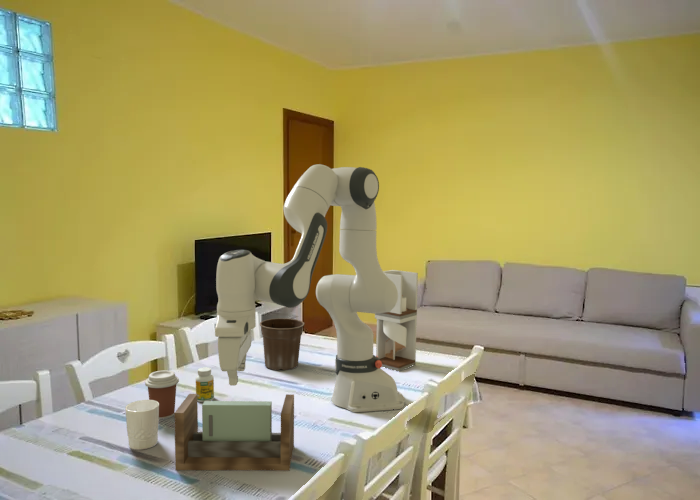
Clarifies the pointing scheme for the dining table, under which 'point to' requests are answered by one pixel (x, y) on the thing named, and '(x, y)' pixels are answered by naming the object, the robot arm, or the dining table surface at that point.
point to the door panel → (237, 420)
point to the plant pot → (281, 342)
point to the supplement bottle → (204, 385)
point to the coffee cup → (163, 391)
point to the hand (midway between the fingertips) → (237, 377)
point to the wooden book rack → (231, 444)
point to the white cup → (142, 423)
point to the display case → (399, 324)
